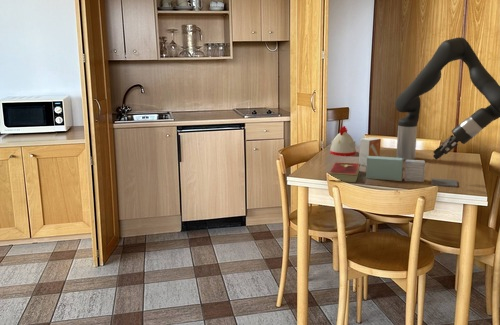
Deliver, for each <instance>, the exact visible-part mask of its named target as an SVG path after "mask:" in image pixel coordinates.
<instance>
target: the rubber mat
mask: <svg viewBox="0 0 500 325" xmlns="http://www.w3.org/2000/svg"><path fill="white" fill-rule="evenodd" d="M430 182H431V184H430V185H431V186H436V185H438V187H448V186H450V187H451V188H452V187H453V188H458V180H456V179H443V178H434V177H433V178H432V177H431V181H430ZM450 187H449V188H450Z"/></svg>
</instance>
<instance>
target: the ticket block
mask: <svg viewBox="0 0 500 325" xmlns="http://www.w3.org/2000/svg"><path fill="white" fill-rule="evenodd" d="M404 161H405V160H404V158H396V156H395V157H391V156H380V157H379V156H368V157H367V166H366V173H365V179H371V180H372V179H373V180H386V181H387V180H388V181H399V182H402V180H403V177H404V176H403V175H404Z"/></svg>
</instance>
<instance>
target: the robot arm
mask: <svg viewBox="0 0 500 325" xmlns="http://www.w3.org/2000/svg"><path fill="white" fill-rule="evenodd" d="M459 60H461V61H462V62H463V63H465V65H466V67H467V68H468V71H469V79H470V81H471V83H472V84H473V86H474V87H475V88H476V90H478V91H479V93H480V94H482V95H483V96H484V98H485V99H486V100H487V102H488V103H489V105H488V106H486V107H482V108H479V109H478V110H476V111H475V112H474V113H472V114H471V115H470V116H469V117H467V118H465V119H464V120H463V121H461V122H460V123H458V124H457V125H456V126H455V127H454V128H453V129H452V130H451V133H452V134H451V135H450V136H449V137H447V139H445V140H444V141H443V142H441V144H440V145H439V146H438V147H437V148H435V149H434V150H433V151H432V152H433V158H434V159H435V160H439V159H440V158H441V157H442V156H444V155H447V154H449V153H450V152H451V151H452V150H454V148H456V147H457V146H458V145H459V144H458V143H459V142H460V143H461V144H463V145H465V144H466V143H468V142H469V141H470V140H472V139H473V138H475V137H476V136H477V135H478V134H479V133H480V132H482V130H483V129H485V128H486V127H487V126H488V125H490V124H491V123H492V122H494V121H496V120H497V119H499V118H500V84H499V83H498V82H497V81H496V79H495V78H494V77H493V75H491V74H490V72H488V71H487V69H486V68H485V67H484V65H483V64H482V62H481V61H480V59H479V57H478V56H477V54H476V53H475V51H474V49H473V47H472V46H471V44H470V43H469V41H468V40H467V39H466V38H464V37H461V36H460V37H455V38H449V39H446V40H444V41H443V42H441V43H440V44H439V46H438V47H437V49H436V50H435V52H434V54H433V55H432V57H431V59H430V60H429V61H428V62H427V63H426V65H425V66H424V67H423V68H422V70H421V71H420V72H419V73H418V74H417V75H416V77H415V78H414V79H413V81H412V82H411V83H410V84H409V85H408V86H407V88H405V89H404V90H403V91H402V92H401V93H400V94H399V95H398V96H397V98H396V100H395V104H394V105H395V110H396V111H397V112H399V113H407V114H406V115H405V116H403V117H402V118H399V119H398V122H397V123H398V125H397V137H396V138H397V139H396V140H397V142H396V156H395V158H404V161H406V160H416V147H417V136H418V135H417V134H418V133H417V131H418V122H419V120H420V119H419V118H420V112H421V104H422V103H421V98H420V96H422V95H424V94H426V93H428V92H430V91H432V89H434V87H435V86H436V85H437V84H439V82H440V80H441V78H442V70H443V69H444V68H445V67H446V66H447V65H448V64H450V62H454V61H459Z"/></svg>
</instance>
